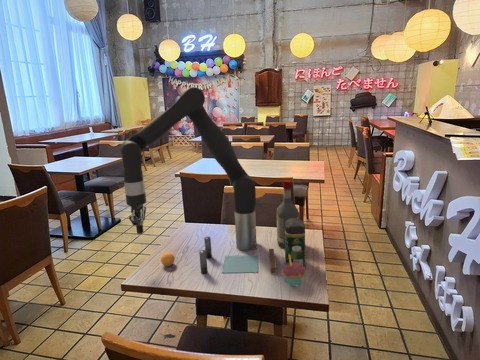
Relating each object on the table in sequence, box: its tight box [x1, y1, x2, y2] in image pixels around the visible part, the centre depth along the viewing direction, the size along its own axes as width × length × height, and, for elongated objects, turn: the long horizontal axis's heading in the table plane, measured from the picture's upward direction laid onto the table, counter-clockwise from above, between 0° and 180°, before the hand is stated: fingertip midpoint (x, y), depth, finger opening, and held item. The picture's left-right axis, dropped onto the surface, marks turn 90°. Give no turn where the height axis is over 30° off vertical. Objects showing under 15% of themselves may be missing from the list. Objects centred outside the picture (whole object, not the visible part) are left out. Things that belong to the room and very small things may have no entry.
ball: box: [160, 251, 176, 267], centre depth 131 cm, size 6×6×6 cm
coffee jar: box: [284, 217, 306, 268], centre depth 126 cm, size 10×8×19 cm
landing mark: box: [221, 254, 259, 274], centre depth 130 cm, size 14×14×1 cm
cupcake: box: [281, 255, 307, 287], centre depth 114 cm, size 9×8×12 cm
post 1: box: [198, 249, 208, 275], centre depth 124 cm, size 3×3×9 cm
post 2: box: [203, 236, 213, 260], centre depth 136 cm, size 3×3×9 cm
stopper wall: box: [268, 248, 277, 275], centre depth 129 cm, size 2×16×2 cm, turn 177°
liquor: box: [276, 179, 300, 250], centre depth 142 cm, size 9×9×30 cm
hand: (140, 233), depth 129 cm, fingers closed
